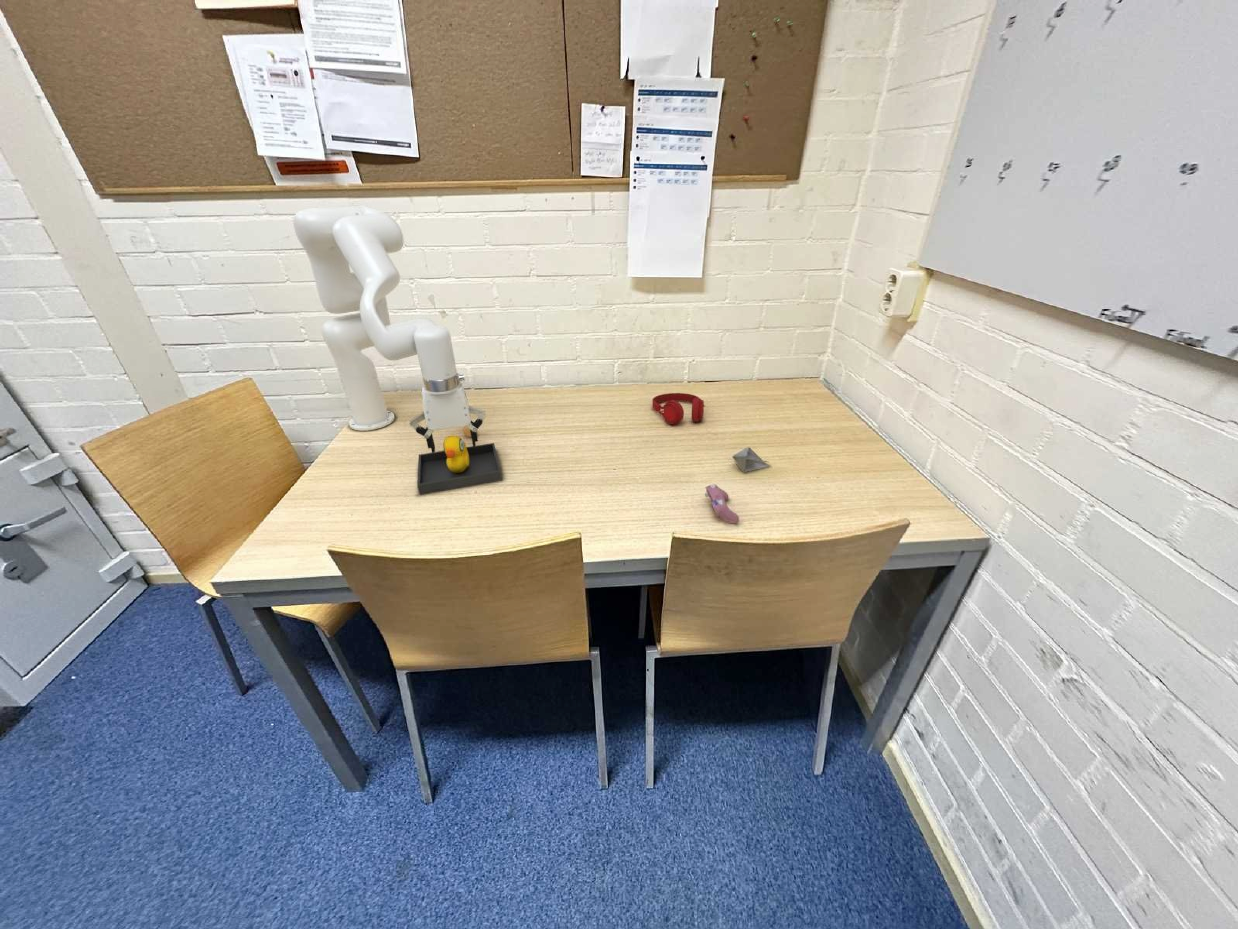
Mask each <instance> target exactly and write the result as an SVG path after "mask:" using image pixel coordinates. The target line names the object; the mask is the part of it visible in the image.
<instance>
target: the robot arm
mask: <svg viewBox="0 0 1238 929" xmlns="http://www.w3.org/2000/svg"><path fill="white" fill-rule="evenodd" d="M292 222H293V229H294V233H295V236H296V238H297V240H298V241H299V243H300V245H301V247H302V248H303V250H304V251H305V253H306V255H307V257H308V259H309V262H310V266H311V269H312V274H313V278H314V282H315V286H316V289H317V293H318V297H319V300H320V303H321V305H322V307H323V308H324V309H325V311H326V312H328V313H329V314H333V315H340V314H345V315H340V316H336V317H333V318H330V319H328V320H327V321H325V322H324V323H323V324H322V326H321V336H322V338H323V340H324V343H325V344H326V346H327V348H328V350H329V352H330V354H331V356H332V359H333V361H334V363H335V366H336V369H337V373H338V375H339V378H340V381H341V384H342V387H343V388H342V389H343V391H344V394H345V397H346V400H347V403H348V406H349V410H350V412H351V415H352V418H350V419H349V421H348V426H349V428H351V429H352V430H354V431H358V432H359V431H361V432H365V431H367V432H368V431H373V430H378V429H382V428H384V427H386V426H388V425H390V424H392V423H393V422H394V420H395V414H394V413H393V411H390V410H388V409H387V404H386V402H385V398H384V394H383V391H382V387H381V383H380V380H379V376H378V372H377V369H376V365H375V364H374V362H373V361H372V360H371V358H370V357H368V356H367V355H365V354H364V353H362V350H365V349H368V348H372V347H375V349H376V350H377V352H378V353H379V355H381V357H383V358H384V359H386V360H388V361H399V360H402V359H406V358H411V357H413V356H417V358H418V363H419V368H420V374H421V377H422V382H423V387H422V388H421V400H422V408H423V411H422V412H421V413H419V414H417V415H416V416H414V417H413V418H411V419H410V420H409V426H411V427H412V429H413V430H414V431H415V432H416V433H417V434H419V435H420V436H422V437H423V438H424V439H425V441H426V445H427V449H430V450H431V453H434V452H436V445H435V444H436V443H435V440H434V436H433V432H434V431H442V430H450V429H451V430H452V429H457V428H463V427H464V426H466V427H468V428H469V429H470V433H471V437H470V438H471V444H472V446H474V447H475V446H477V445H476V443H477V442H479V439H478V434H477V433H478V429H479V428H480V427H481V426H482V425H483V422H484V420H485V418H486V415H487V414H486V411H485V410H483V409H481V408H477V407H474V406H470V405H469V402H468V401H469V400H468V397H467V393H466V390H465V387H464V385H463V383H462V382H464V381H466V380H465V375H464V374H460V373H459V372H458V371H457V365H456V359H455V354H454V349H453V343H452V337H451V333H450V330H449V329H447V327H445V326H442V325H437V323H435V321H433V320H432V319H430V318H429V317H428V318H427V317H418V318H415V319H410V320H405V321H400V322H396V323H392V324H391V319H390V315H389V308H388V302H387V295H389V294H391V292H392V291H394V290H395V289H396V288H397V287H398V285H399V284H400V281H401V274H400V272H399V270H398V269H397V267H396V266H395V264H394V262H393V261H392V258H391V257H390V255H389V254H393V253H398V252H400V251H401V250H402V249H403V247H404V242H405V240H404V239H405V238H404V234H403V232H402V229H401V227H400V225H399V224H398V222H397V221H396V220H395V219H394V218H393V217H392V216H391V215H390V214H388V213H386V212H384V211H381V210H380V209H379V210H378V209H376V208H373V207H370V206H368V205H361V204H359V205H339V206H319V207H310V208H304V209H301V210H299V211H297V212H296V213H295V214H294V216H293V221H292ZM351 270H352V271H353V272H352V271H351ZM358 311H359V312H358ZM352 312H357V313H352ZM347 313H348V314H347ZM349 313H350V314H349ZM471 414H472V415H475V416H478V417H477V418H476V419H475V421H473V419H472V418H471ZM423 421H425V425H426V427H423V426H422V425H420V423H421V422H423ZM476 431H477V432H476Z"/></svg>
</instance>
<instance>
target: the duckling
mask: <svg viewBox="0 0 1238 929" xmlns="http://www.w3.org/2000/svg"><path fill="white" fill-rule="evenodd" d="M443 440H444V441H443V444H442V447H443V451H445V453H446V455H447V457H448V458H447V461H446V462H447V466H448V468H449V470H450V471H452V472H454V473H460V472H463V471H464V470H465V469H466V467H468V466H469V454H468V451H467V448H466V447H467V445H466V442H465V440H463V439H462V437H460V436H458V435H449V436H446V437H445V439H443Z"/></svg>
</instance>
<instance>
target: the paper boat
mask: <svg viewBox="0 0 1238 929" xmlns="http://www.w3.org/2000/svg"><path fill="white" fill-rule="evenodd" d="M731 458H732V459H733V460H734V462H735V463H736V465H737V467H738V468H739V469H740V471H741V472H743V473H748V472H752V471H755V470H759V469H764V468H767V467H769V464H767V463H769V461H767V460H763V459H762V458H761V457H760V455H758V454H757V453H756V452H755V451H754V450H753V449H752V448H751V447H750V446H749V447H745V448H743V449H742V450H740V451H738V452H736V453H735V454H733V455H732V456H731Z"/></svg>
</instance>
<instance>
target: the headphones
mask: <svg viewBox="0 0 1238 929" xmlns="http://www.w3.org/2000/svg"><path fill="white" fill-rule="evenodd" d="M651 401H652V403H651V404H652V405H651V406H652V409H653V410H654V411H655V413H658V414H659V415H660V416H661V417H662V418H663V419H664V421H665V422H666V423H667V424H669V425H678V424H680V423H681V422H683V420H684V416H685V412H684V407H683V405H682V404H681V403H680V402H686V403H691V421H692V422H693V423H698V422H700V421H703V418H704V412H705V410H704V408H705V407H706V405H705V402H704V399H701V398H700V397H699V396H697V395H694V394H691V393H685V392H684V393H683V392H669V393H663V394H658V395H656V396H654V397H653V398H652V400H651ZM661 403H665V404H663V406H662V405H661Z"/></svg>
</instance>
